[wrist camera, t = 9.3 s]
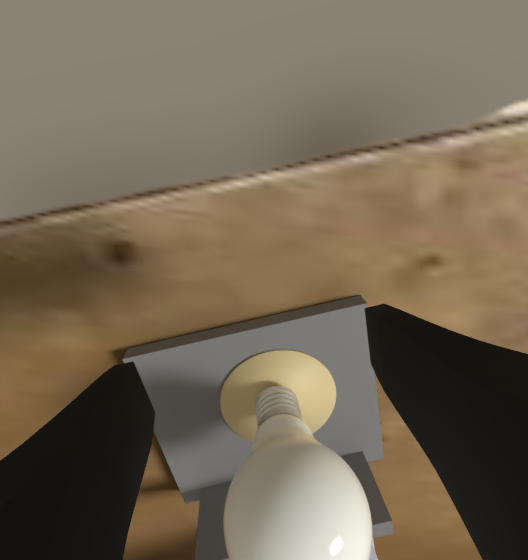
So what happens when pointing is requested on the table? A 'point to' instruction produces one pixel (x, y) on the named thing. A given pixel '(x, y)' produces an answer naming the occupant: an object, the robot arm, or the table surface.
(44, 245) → the table surface
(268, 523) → the lightbulb
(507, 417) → the robot arm
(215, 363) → the lamp base
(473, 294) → the table surface
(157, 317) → the table surface
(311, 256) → the table surface
